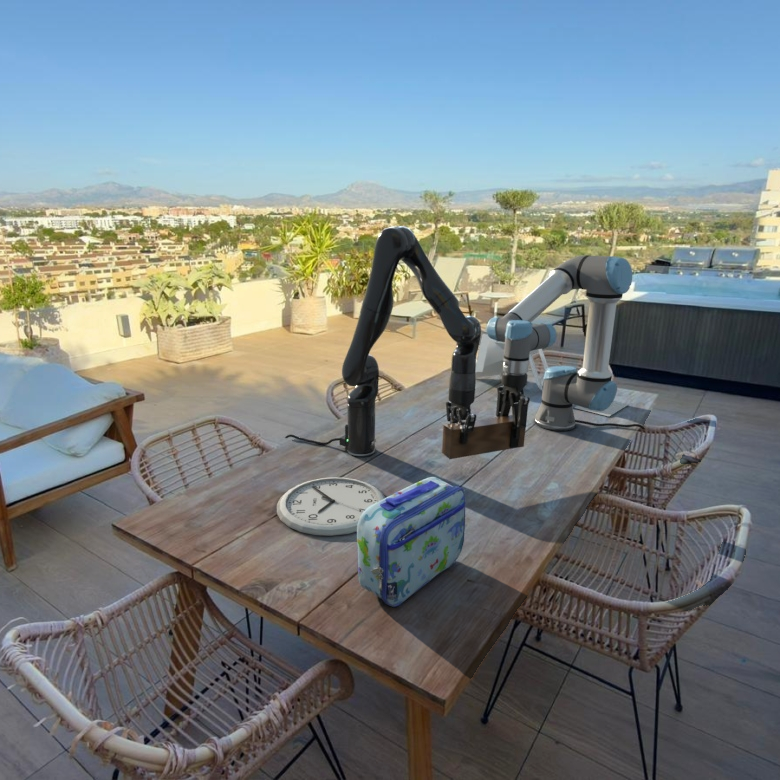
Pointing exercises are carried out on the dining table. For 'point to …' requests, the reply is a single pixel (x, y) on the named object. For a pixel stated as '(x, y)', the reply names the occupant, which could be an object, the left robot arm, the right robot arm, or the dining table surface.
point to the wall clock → (327, 505)
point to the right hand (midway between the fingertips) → (508, 443)
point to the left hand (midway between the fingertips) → (458, 440)
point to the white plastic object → (500, 359)
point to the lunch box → (410, 539)
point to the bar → (480, 437)
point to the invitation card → (609, 411)
